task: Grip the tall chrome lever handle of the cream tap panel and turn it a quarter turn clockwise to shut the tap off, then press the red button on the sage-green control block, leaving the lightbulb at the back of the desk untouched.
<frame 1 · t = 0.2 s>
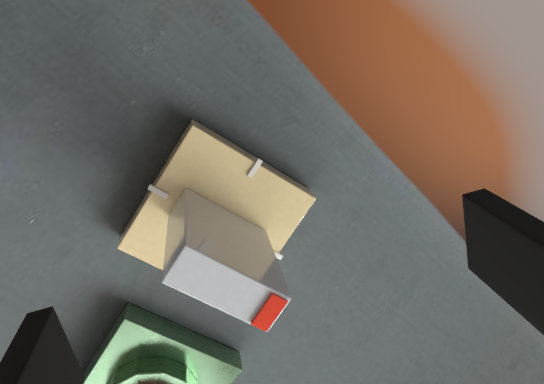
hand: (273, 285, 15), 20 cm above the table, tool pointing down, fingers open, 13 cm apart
tap handle: (222, 253, 29), point 7 cm above the table, hinge at 90.0°
tap panel: (216, 212, 36), on the table
control block: (154, 375, 39), on the table
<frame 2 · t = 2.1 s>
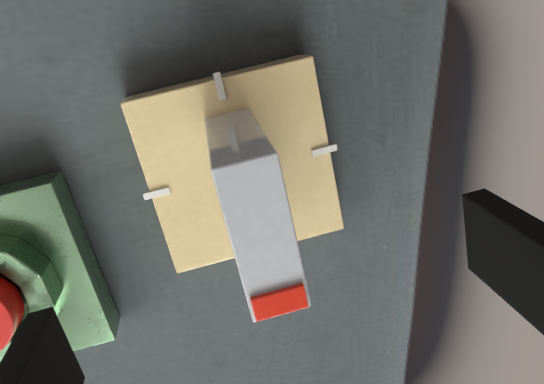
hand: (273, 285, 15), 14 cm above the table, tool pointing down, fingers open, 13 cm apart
tap handle: (251, 201, 22), point 7 cm above the table, hinge at 90.0°
tap panel: (238, 160, 28), on the table
control block: (7, 271, 28), on the table
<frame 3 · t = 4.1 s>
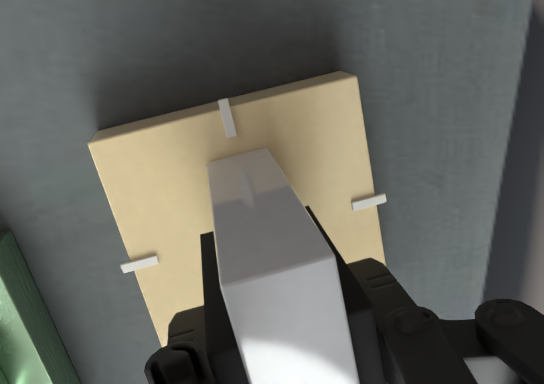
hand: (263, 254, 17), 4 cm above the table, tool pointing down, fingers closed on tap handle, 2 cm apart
tap handle: (275, 292, 15), point 7 cm above the table, hinge at 90.0°, touching gripper
tap panel: (250, 212, 21), on the table
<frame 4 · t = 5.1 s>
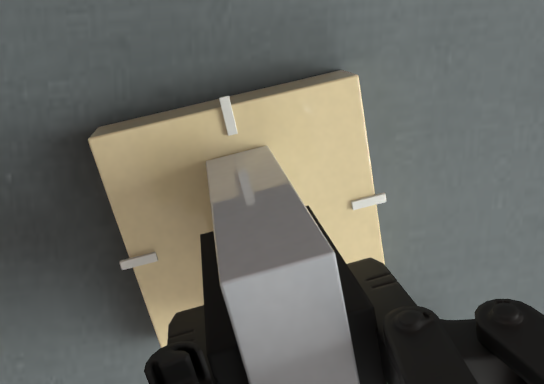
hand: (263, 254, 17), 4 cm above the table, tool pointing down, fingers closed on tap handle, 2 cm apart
tap handle: (275, 291, 15), point 7 cm above the table, hinge at 0.5°, touching gripper
tap panel: (249, 211, 21), on the table
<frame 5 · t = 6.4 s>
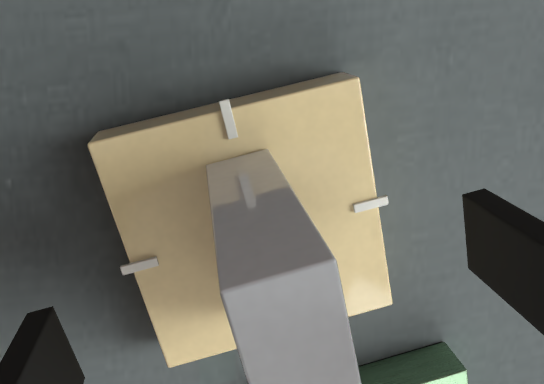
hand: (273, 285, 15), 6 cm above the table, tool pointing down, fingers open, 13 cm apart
tap handle: (277, 296, 15), point 7 cm above the table, hinge at 0.7°
tap panel: (251, 214, 21), on the table
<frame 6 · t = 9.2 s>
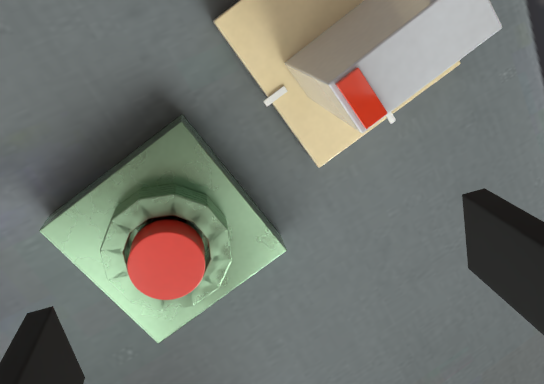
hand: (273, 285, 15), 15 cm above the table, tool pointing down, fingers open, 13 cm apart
tap handle: (374, 48, 22), point 7 cm above the table, hinge at 0.7°
tap panel: (334, 41, 28), on the table
control block: (170, 226, 30), on the table
stop button: (167, 259, 26), point 4 cm above the table, slide at 0.1 cm
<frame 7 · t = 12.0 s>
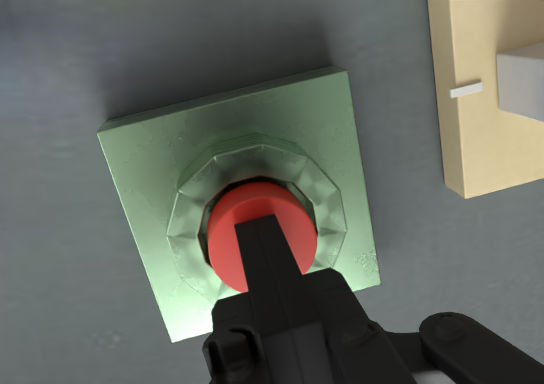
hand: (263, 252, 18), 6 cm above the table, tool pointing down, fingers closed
tap panel: (536, 59, 23), on the table
control block: (247, 198, 23), on the table
stop button: (260, 238, 19), point 4 cm above the table, slide at 0.0 cm, touching gripper
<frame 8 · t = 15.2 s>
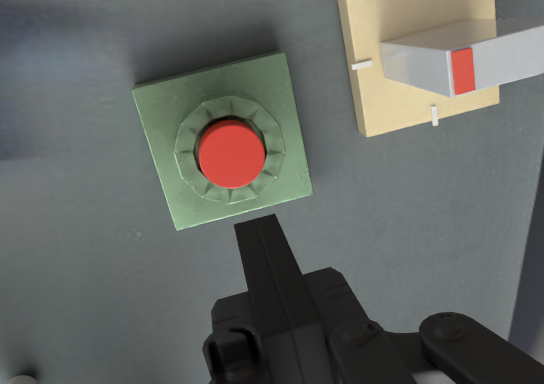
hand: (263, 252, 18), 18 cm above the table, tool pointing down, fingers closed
tap handle: (463, 52, 28), point 7 cm above the table, hinge at 0.7°
tap panel: (414, 47, 35), on the table
control block: (226, 137, 35), on the table
stop button: (231, 153, 30), point 4 cm above the table, slide at 0.1 cm
lightbulb: (26, 380, 39), on the table
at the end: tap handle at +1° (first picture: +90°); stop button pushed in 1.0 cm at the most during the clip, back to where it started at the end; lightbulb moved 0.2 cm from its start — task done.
